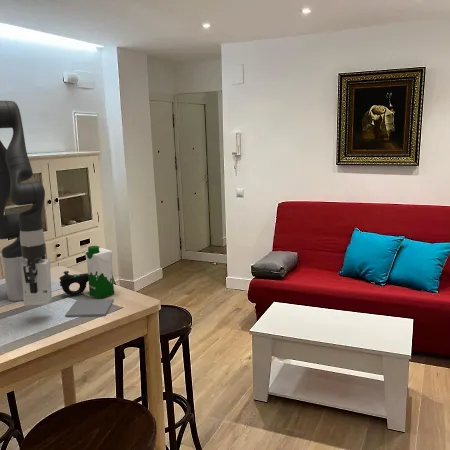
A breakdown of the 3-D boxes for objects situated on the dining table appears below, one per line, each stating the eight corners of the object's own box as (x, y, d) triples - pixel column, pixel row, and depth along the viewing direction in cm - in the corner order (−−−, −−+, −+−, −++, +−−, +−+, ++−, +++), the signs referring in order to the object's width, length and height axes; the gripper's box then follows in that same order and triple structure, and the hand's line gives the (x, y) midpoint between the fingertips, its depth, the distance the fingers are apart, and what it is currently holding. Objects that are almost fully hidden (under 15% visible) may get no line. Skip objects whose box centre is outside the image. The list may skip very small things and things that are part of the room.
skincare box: (23, 306, 154) (19, 264, 150) (28, 299, 159) (24, 258, 156) (49, 304, 155) (45, 263, 151) (53, 297, 161) (49, 257, 157)
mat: (76, 301, 173) (76, 300, 173) (113, 300, 173) (113, 299, 173) (65, 317, 159) (65, 315, 159) (105, 316, 160) (105, 313, 159)
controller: (60, 295, 180) (58, 271, 178) (92, 290, 185) (90, 266, 183) (61, 298, 176) (59, 274, 174) (94, 293, 181) (92, 269, 179)
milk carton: (86, 295, 180) (81, 246, 175) (105, 289, 186) (102, 241, 182) (98, 300, 174) (94, 250, 169) (118, 294, 180) (114, 245, 176)
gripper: (29, 236, 159) (34, 282, 163) (12, 248, 145) (18, 297, 149) (51, 236, 159) (55, 281, 163) (36, 248, 145) (41, 297, 149)
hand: (37, 289), depth 156 cm, fingers closed on skincare box, 6 cm apart
